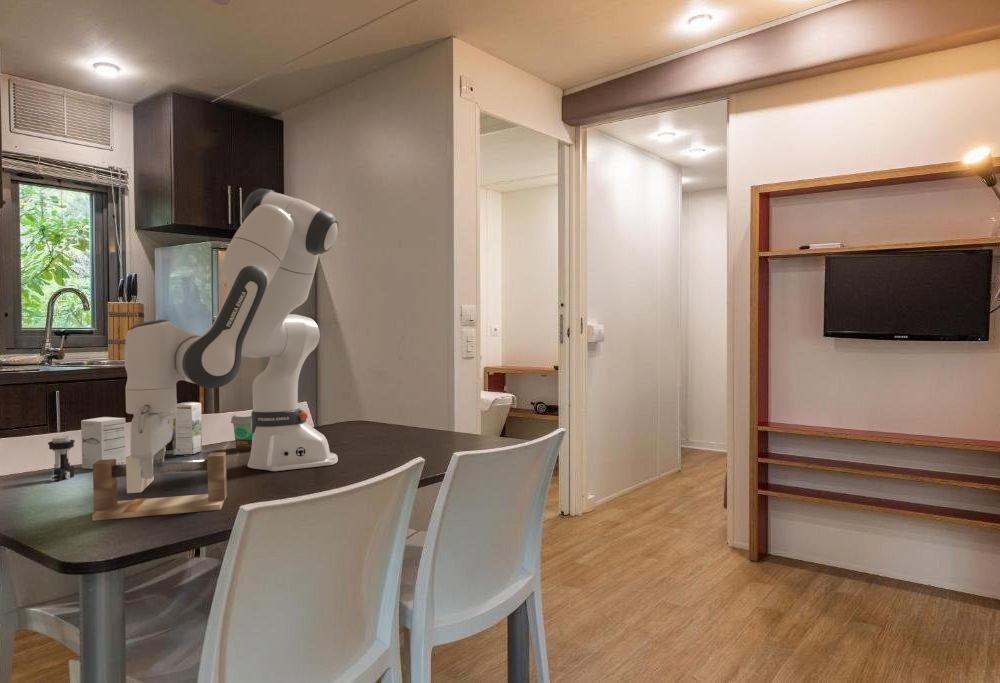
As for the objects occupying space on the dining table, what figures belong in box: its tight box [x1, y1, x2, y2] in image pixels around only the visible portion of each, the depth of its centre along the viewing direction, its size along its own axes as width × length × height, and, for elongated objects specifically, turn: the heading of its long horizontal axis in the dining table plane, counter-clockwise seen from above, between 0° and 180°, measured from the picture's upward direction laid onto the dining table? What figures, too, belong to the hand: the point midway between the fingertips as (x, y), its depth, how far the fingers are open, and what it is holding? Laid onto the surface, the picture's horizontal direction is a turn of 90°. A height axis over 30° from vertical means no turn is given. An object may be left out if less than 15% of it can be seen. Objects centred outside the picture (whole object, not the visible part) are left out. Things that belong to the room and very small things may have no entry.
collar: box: [126, 454, 155, 494], centre depth 129 cm, size 2×11×7 cm, turn 16°
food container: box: [230, 413, 253, 452], centre depth 194 cm, size 12×6×10 cm, turn 80°
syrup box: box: [172, 401, 203, 456], centre depth 188 cm, size 6×6×14 cm
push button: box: [47, 435, 75, 482], centre depth 158 cm, size 7×5×10 cm
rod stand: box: [91, 451, 228, 521], centre depth 130 cm, size 23×10×10 cm, turn 107°
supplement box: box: [80, 416, 127, 470], centre depth 172 cm, size 7×7×13 cm
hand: (153, 473), depth 130 cm, fingers open, 8 cm apart
